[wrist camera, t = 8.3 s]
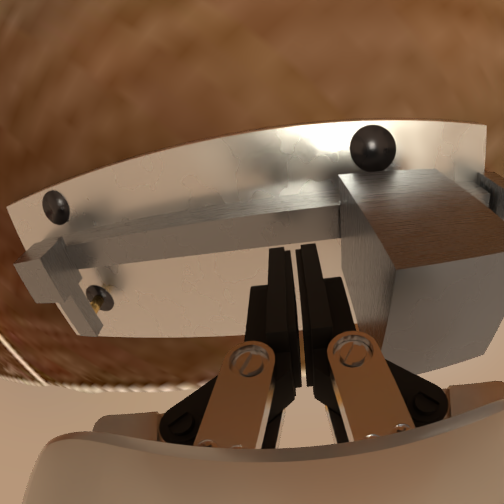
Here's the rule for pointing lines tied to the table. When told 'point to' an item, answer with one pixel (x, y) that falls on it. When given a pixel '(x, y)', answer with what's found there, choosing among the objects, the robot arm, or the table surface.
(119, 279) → the hole plate
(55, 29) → the table surface
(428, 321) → the slider block
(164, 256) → the divider rail
